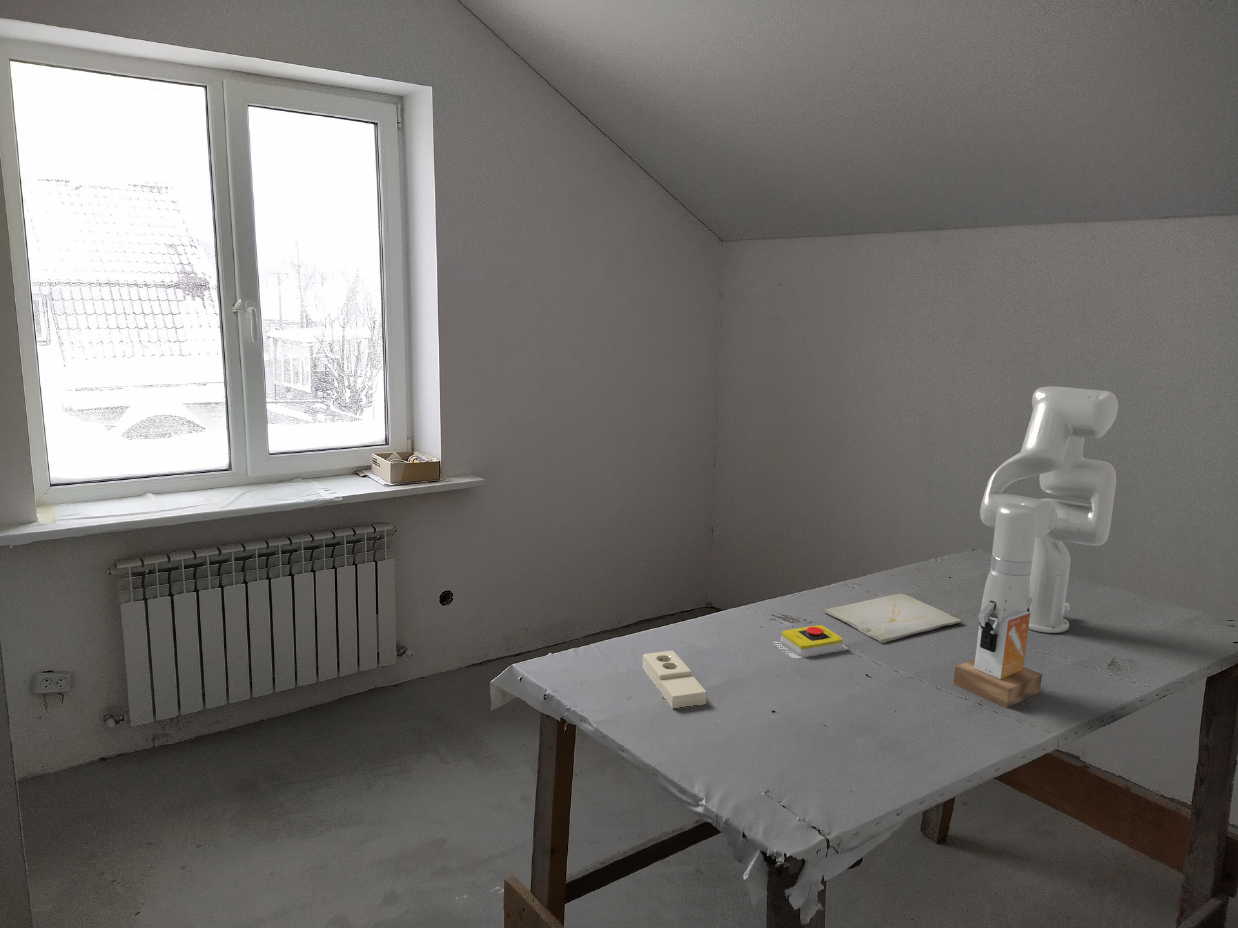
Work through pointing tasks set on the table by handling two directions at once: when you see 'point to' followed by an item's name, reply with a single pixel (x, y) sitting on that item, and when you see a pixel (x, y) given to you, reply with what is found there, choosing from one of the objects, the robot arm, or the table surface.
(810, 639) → the emergency button
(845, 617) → the decorative slab
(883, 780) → the table surface
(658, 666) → the electrical outlet
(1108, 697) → the table surface
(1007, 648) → the small box
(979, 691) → the walnut base
